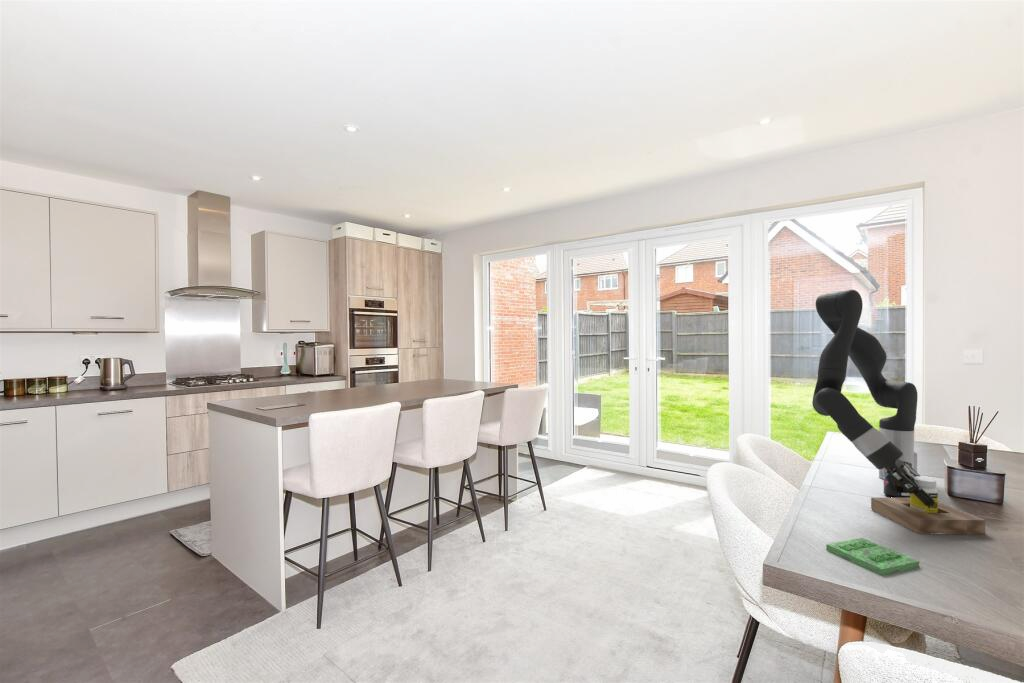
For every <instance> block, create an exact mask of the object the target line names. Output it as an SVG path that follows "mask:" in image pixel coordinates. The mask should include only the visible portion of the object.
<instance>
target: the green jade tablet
mask: <svg viewBox="0 0 1024 683" xmlns="http://www.w3.org/2000/svg"><path fill="white" fill-rule="evenodd" d="M825 549H826V551H828V552H830V553H832V554H835V555H836V556H838V557H841V558H843V559H846V560H848V561H850V563H851V562H852V563H853V564H856V565H858V566H861V567H862V568H865V569H867V570H869V571H872V572H874V573H876V574H878V575H880V576H884V575H889V574H893V573H897V572H902V571H906V570H910V569H916V568H920V560H917V559H915V558H912V557H910V556H907V555H905V554H903V553H900V552H898V551H895V550H893V549H891V548H888V547H885V546H883V545H880V544H878V543H875V542H873V541H871V540H868V539H866V538H864V537H860V538H855V539H848V540H843V541H837V542H832V543H831V542H830V543H827V544H826V548H825Z"/></svg>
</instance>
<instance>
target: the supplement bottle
mask: <svg viewBox="0 0 1024 683" xmlns="http://www.w3.org/2000/svg"><path fill="white" fill-rule="evenodd" d="M915 478H916V479H917V484H918V485H919V486H920V487H921V488H922V490H924V491H925V492H926V493H927V494H928V495H929V496H930V497H931V498H932V499H933V500H934V501H935V503H934V504H933V505H931V506H926V505H925V504H924V503H923V502H922V501H921V500H920V499H919V498H918V497H917V496H915V495H913V494H912V493H911V494H910V508H912V509H914V510H917V511H919V512H921V513H938V501H939V490H938V489H937V488H936V487H937V480H936V479H934V478H930V477H926V476H921V477H919V476H915ZM911 487H912V486H911Z"/></svg>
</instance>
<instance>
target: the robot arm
mask: <svg viewBox="0 0 1024 683" xmlns="http://www.w3.org/2000/svg"><path fill="white" fill-rule="evenodd" d="M863 305H864V304H863V298H862V296H861V294H860V293H859V292H858V291H857V290H856V289H843V290H837V291H830V292H825V293H822V294H820V295H819V296H817V297H816V299H815V309H816V311H817V314H818V316H819V317H820V319H821V320H822V322H823V323H824V324H825V325H826V327H827V328H828V329H829V330H830V331H831V332H832V334H833V335H834V336H833V337H832V338H831V339H830V340H829V342H828V343H827V344H826V345H825V347H824V348H823V350H822V352H821V354H820V356H819V362H818V369H817V379H816V384H815V387H814V391H813V396H812V404H811V405H812V408H813V409H814V411H815V412H816V413H817V414H819V415H821V416H825V417H828V416H829V417H830V418H831V419H832V420H833V421H834V422H835V423H836V426H837V429H838V430H839V431H840V433H842V435H843V436H844V437H846V438H847V440H849V441H850V442H851V444H853V446H854V447H855V448H856V449H857V450H858V451H859V453H861V455H863V456H864V457H865V458H866V459H867V461H869V462H870V463H871V464H872V465H873V467H874V468H876V469H878V477H879V478H880V479H882V480H884V467H887V468H888V469H889V470H890V472H891V475H890V476H891V478H893V479H894V480H895V481H896V482H897V483H898V484H899V485H900V486H901V487H903V488H904V489H905V490H906V491H907V492H908V493H909V494H911V493H912V494H913V495H915V496H917V497H918V498H919V499H920V500H921V501H922V502H923V503H924V504H925V505H926V506H931V505H933V504H934V503H935V501H934V500H933V499H932V498H931V497H930V496H929V495H928V494H927V493H926V492H925V491H924V490H922V488H921V487H920V486H919V485H918V484H917V479H916V478H915V476H919V477H922V475H920V474H919V473H918V453H917V452H915V426H916V421H917V408H918V396H919V395H918V390H917V387H916V386H915V384H914V383H912V382H907V381H895V380H894V381H893V380H888V379H886V378H885V377H884V375H883V373H882V371H883V369H884V367H885V365H886V363H887V352H886V351H885V349H884V347H883V346H882V344H881V343H880V341H879V340H878V338H876V337H875V336H874V335H873V334H871V333H869V331H866V330H864V329H862V328H860V327H859V323H860V319H861V317H862V313H863ZM849 358H850V360H851V361H852V364H854V366H855V368H857V370H858V371H859V373H860V375H861V377H862V379H863V380H864V381H865V384H866V385H867V388H868V390H869V393H870V394H871V396H872V398H873V400H874V402H875V403H876V404H877V405H878V406H880V407H884V408H886V409H889V408H890V409H896V413H895V415H892V416H889V417H883V418H880V419H879V422H878V423H879V424H878V425H879V427H878V429H879V430H878V429H877V428H875V427H874V426H873V425H872V424H871V423H870V422H869V421H868V420H867V419H866V418H864V417H863V416H862V415H861V414H860V413H859V411H857V409H856V408H855V406H854V405H853V404H852V402H851V401H850V399H848V398H847V397H846V395H844V394H843V393H842V388H843V384H844V383H845V380H846V376H847V371H848V363H849V362H848V361H849V360H848V359H849ZM901 461H905V462H903V463H902V462H901ZM907 462H909V463H911V464H912V467H911V466H910V465H909V464H908V463H907ZM910 485H912V487H910Z"/></svg>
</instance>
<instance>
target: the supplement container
mask: <svg viewBox="0 0 1024 683" xmlns="http://www.w3.org/2000/svg"><path fill="white" fill-rule="evenodd" d="M901 462H902V463H903V462H905V461H901ZM907 463H908V464H909V465H910V466H911V467H912V464H911V463H909V462H907ZM890 475H891V472H890V470H889V469H888V468H887V467H884V479H883V494H884V496H886V497H888V496H889V497H888V498H890V497H892V498H910V494H909V493H908V492H907V491H906V490H905V489H904V488H903V487H901V486H900V485H899V484H898V483H897V482H896V481H895V480H894V479H893V478H891V476H890ZM911 486H912V485H910V487H911Z"/></svg>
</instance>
